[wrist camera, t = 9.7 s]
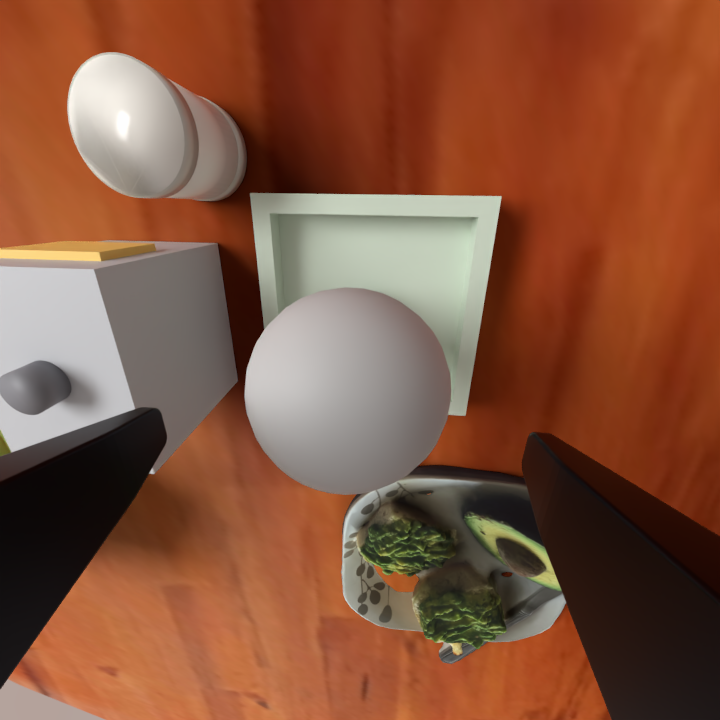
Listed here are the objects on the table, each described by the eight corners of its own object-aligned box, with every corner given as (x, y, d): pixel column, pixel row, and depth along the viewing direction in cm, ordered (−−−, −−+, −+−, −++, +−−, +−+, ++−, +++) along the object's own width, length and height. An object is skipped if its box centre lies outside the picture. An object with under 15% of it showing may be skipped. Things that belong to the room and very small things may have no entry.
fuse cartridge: (239, 96, 15) (169, 47, 11) (253, 199, 17) (197, 195, 12) (152, 102, 16) (48, 57, 11) (173, 202, 17) (91, 199, 13)
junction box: (216, 236, 18) (61, 264, 9) (238, 385, 21) (139, 499, 13) (106, 234, 18) (-132, 258, 10) (145, 379, 22) (-6, 486, 13)
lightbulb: (427, 362, 19) (461, 550, 9) (316, 364, 19) (234, 540, 10) (429, 244, 16) (481, 325, 6) (301, 251, 17) (167, 335, 7)
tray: (490, 197, 16) (501, 196, 14) (459, 398, 20) (465, 415, 18) (264, 193, 17) (249, 192, 15) (281, 388, 21) (271, 403, 19)
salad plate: (538, 652, 30) (562, 726, 26) (334, 620, 31) (325, 686, 27) (631, 483, 22) (686, 549, 18) (350, 446, 23) (340, 501, 19)
